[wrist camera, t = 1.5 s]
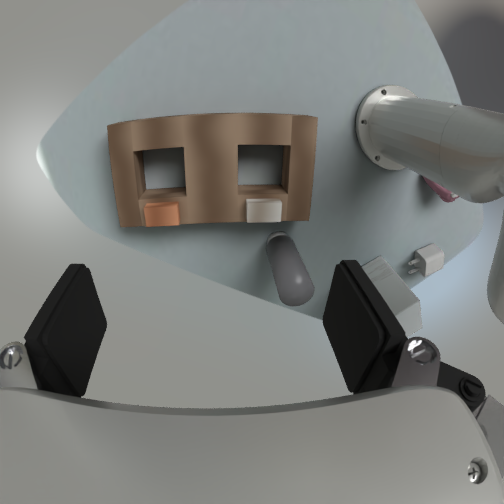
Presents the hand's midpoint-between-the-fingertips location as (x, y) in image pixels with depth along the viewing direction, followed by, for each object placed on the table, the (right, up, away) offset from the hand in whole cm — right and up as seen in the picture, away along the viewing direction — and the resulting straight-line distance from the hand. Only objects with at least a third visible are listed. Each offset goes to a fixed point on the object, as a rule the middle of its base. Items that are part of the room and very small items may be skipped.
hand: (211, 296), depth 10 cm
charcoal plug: (+5, +3, +31) cm, 32 cm away
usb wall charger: (+32, +1, +36) cm, 48 cm away
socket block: (-4, +13, +24) cm, 28 cm away
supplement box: (+22, -3, +37) cm, 43 cm away
